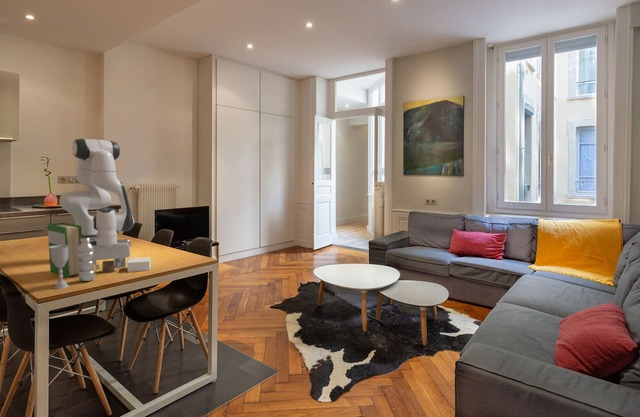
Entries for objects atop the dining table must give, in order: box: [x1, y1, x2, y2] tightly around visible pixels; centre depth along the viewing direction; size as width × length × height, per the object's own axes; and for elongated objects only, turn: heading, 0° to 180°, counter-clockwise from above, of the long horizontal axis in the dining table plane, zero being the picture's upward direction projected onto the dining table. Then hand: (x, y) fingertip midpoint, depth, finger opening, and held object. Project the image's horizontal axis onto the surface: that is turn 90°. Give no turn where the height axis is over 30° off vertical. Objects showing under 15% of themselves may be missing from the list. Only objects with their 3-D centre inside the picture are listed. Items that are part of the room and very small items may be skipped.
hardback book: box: [47, 222, 82, 279], centre depth 180 cm, size 18×7×24 cm, turn 57°
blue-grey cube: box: [113, 258, 127, 269], centre depth 195 cm, size 5×5×5 cm
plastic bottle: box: [77, 237, 96, 282], centre depth 168 cm, size 6×7×20 cm
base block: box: [126, 256, 152, 273], centre depth 191 cm, size 10×10×5 cm
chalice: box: [48, 245, 69, 290], centre depth 159 cm, size 7×7×18 cm
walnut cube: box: [101, 259, 116, 274], centre depth 185 cm, size 5×5×5 cm
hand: (108, 267), depth 185 cm, fingers open, 8 cm apart
